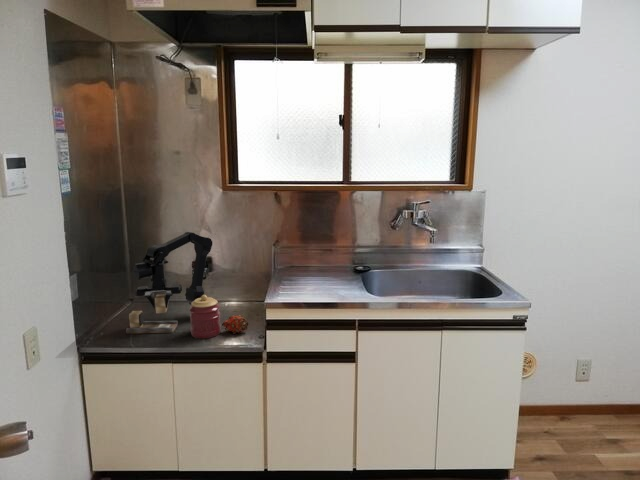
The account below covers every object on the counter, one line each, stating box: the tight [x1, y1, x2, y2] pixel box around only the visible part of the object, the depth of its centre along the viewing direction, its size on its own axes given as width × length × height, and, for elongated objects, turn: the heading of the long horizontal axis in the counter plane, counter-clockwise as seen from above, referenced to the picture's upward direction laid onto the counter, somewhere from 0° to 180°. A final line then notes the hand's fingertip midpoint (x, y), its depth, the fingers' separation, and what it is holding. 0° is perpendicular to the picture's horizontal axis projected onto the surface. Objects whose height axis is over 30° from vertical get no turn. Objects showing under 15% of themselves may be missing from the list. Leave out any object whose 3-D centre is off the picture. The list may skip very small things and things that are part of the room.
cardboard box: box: [153, 293, 168, 314], centre depth 201 cm, size 5×5×7 cm
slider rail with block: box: [125, 310, 179, 335], centre depth 204 cm, size 20×9×8 cm, turn 93°
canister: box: [188, 294, 222, 339], centre depth 198 cm, size 13×13×18 cm
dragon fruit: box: [221, 314, 249, 335], centre depth 200 cm, size 8×8×12 cm
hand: (160, 308), depth 202 cm, fingers closed on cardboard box, 5 cm apart
